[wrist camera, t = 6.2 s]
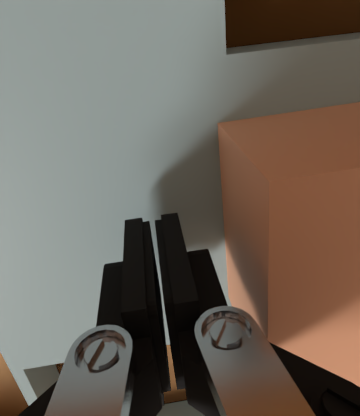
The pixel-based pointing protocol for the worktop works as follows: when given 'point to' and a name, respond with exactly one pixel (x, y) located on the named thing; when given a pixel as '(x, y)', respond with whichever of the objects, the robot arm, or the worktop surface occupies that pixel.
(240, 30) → the worktop surface
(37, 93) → the trap deck
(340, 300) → the block
